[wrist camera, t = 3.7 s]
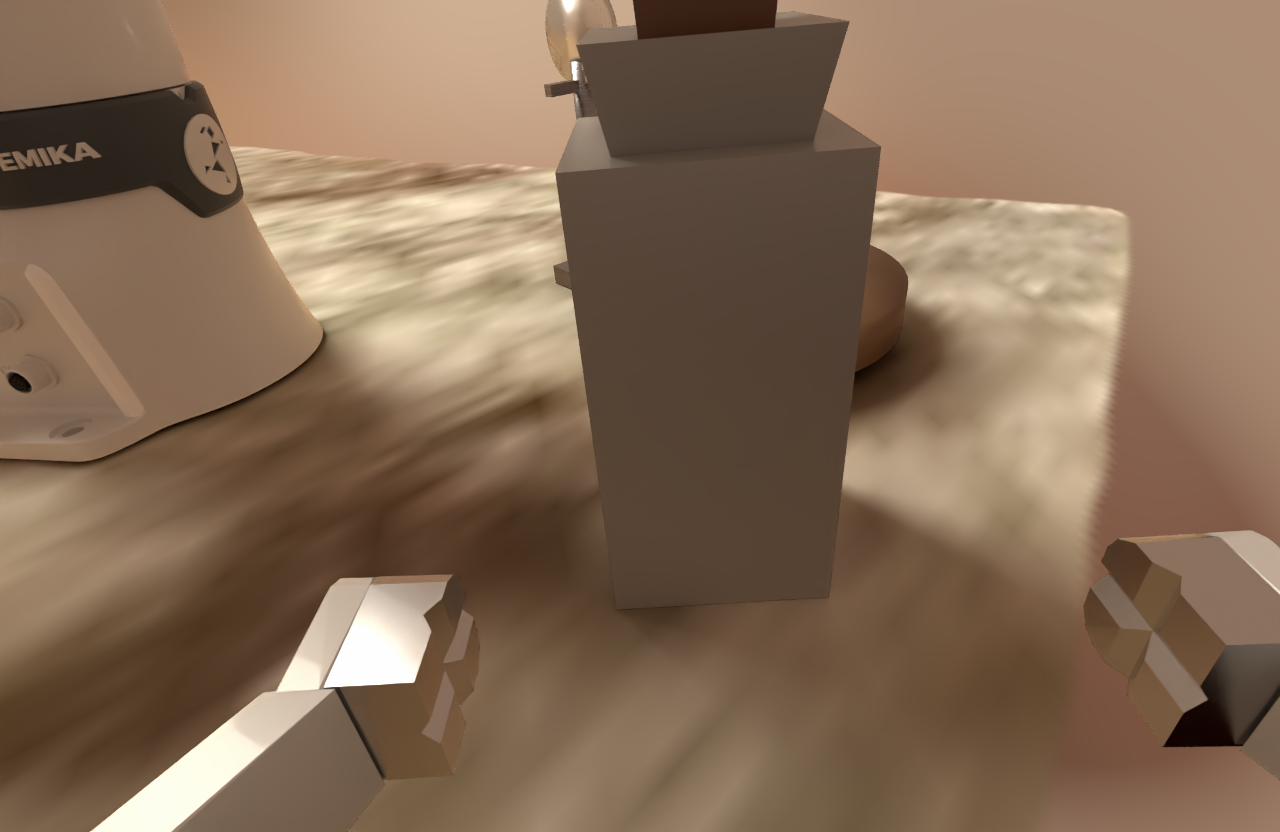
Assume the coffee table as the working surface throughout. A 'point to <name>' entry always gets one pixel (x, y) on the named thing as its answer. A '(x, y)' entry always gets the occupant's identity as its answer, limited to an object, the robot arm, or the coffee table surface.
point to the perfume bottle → (717, 296)
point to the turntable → (881, 307)
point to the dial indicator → (573, 62)
